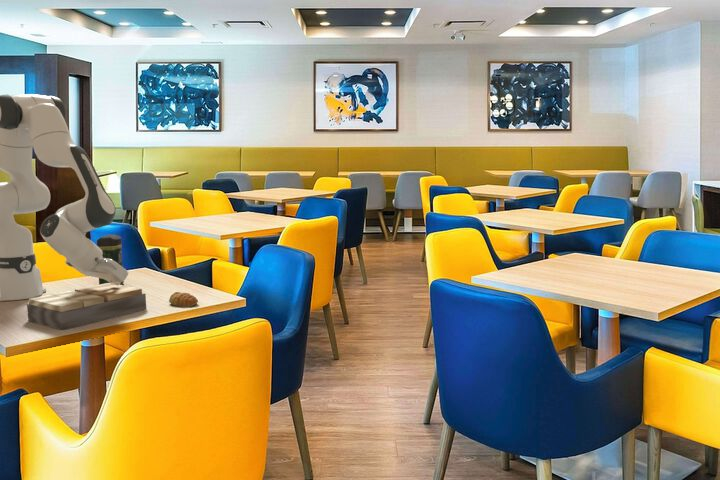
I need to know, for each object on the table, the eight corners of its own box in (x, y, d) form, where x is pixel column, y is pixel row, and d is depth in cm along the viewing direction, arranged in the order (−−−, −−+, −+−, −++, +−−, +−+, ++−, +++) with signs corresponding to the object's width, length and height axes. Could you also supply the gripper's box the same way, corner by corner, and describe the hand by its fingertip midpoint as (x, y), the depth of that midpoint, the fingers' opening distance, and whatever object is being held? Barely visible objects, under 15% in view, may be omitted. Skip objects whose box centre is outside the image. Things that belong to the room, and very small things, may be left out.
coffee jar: (119, 288, 247) (115, 236, 244) (96, 288, 246) (92, 237, 244) (127, 282, 256) (123, 232, 253) (105, 283, 256) (101, 233, 253)
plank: (75, 294, 214) (74, 289, 213) (109, 287, 223) (108, 282, 223) (107, 301, 204) (107, 295, 204) (142, 293, 213) (141, 288, 213)
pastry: (203, 304, 221) (202, 292, 220) (188, 309, 215) (187, 297, 215) (182, 301, 226) (181, 289, 225) (166, 305, 220) (165, 294, 219)
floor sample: (28, 320, 203) (26, 299, 202) (111, 302, 225) (110, 282, 224) (62, 330, 192) (60, 306, 191) (146, 309, 214) (145, 288, 214)
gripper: (113, 251, 202) (143, 278, 211) (74, 245, 214) (103, 271, 223) (101, 269, 199) (132, 295, 208) (61, 262, 211) (92, 287, 220)
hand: (117, 283), depth 216 cm, fingers closed
